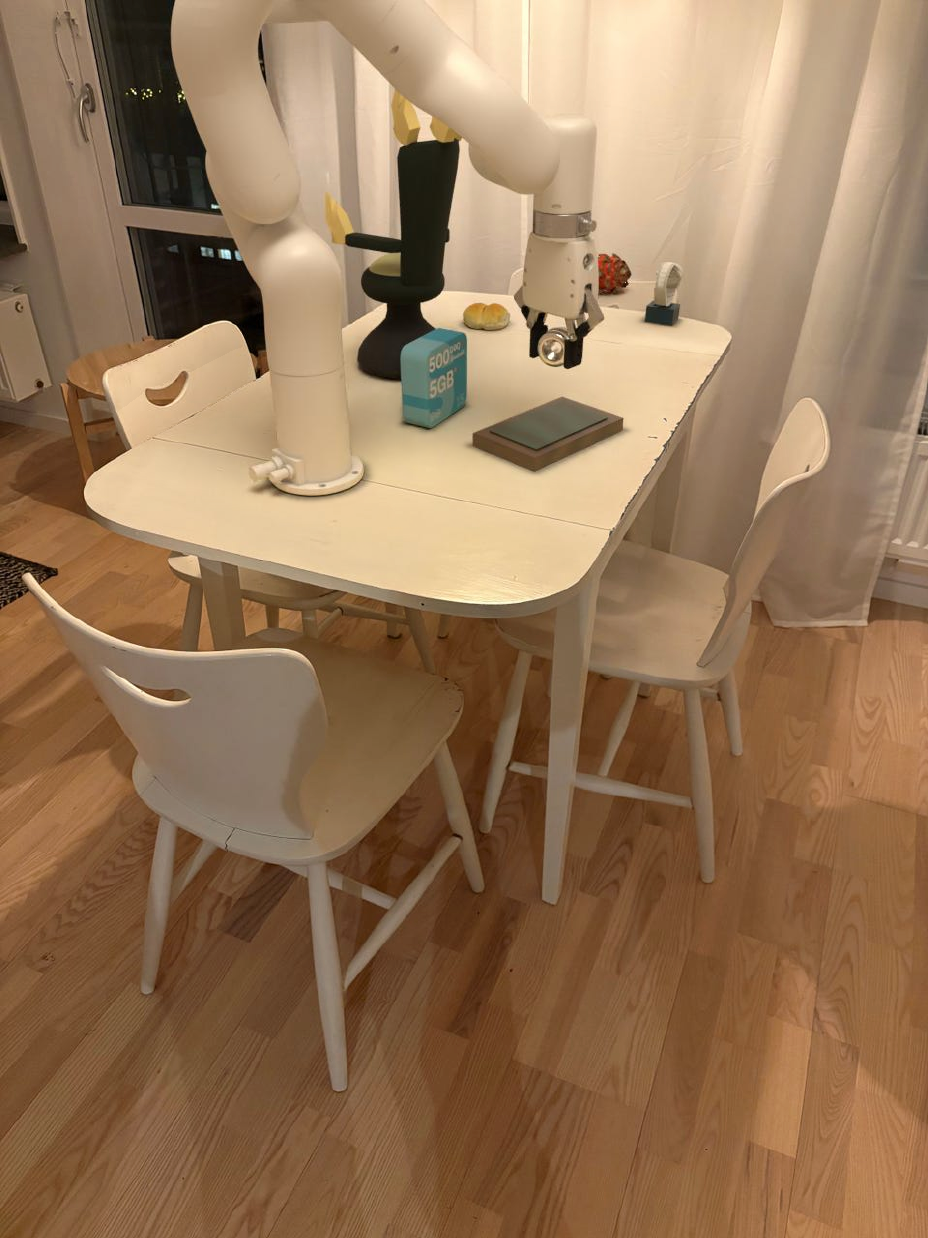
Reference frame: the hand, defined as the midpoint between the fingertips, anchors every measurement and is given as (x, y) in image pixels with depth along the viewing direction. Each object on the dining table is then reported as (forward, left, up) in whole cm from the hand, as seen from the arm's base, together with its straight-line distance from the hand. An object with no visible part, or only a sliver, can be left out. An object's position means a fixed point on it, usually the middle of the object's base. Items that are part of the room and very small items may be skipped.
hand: (555, 359), depth 129 cm
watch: (+59, +21, -12) cm, 63 cm away
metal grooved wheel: (0, 0, -1) cm, 1 cm away
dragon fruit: (+66, +42, -12) cm, 80 cm away
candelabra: (+6, +36, -12) cm, 38 cm away
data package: (-6, +18, -12) cm, 23 cm away
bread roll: (+32, +44, -12) cm, 56 cm away
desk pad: (0, 0, -12) cm, 12 cm away
